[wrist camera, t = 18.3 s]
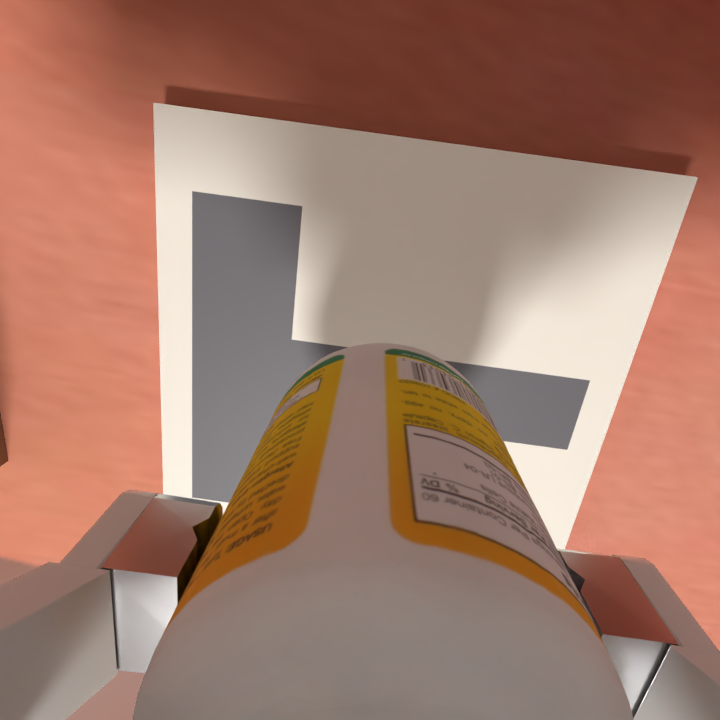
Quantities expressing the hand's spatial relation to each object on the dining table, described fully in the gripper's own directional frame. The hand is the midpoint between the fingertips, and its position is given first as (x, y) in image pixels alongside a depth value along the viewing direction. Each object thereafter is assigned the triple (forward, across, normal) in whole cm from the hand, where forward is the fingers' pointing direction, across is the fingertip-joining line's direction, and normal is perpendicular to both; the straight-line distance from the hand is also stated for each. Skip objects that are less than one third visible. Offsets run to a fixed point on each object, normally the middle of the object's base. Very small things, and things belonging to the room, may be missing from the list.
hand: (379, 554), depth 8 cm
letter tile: (+7, 0, 0) cm, 7 cm away
